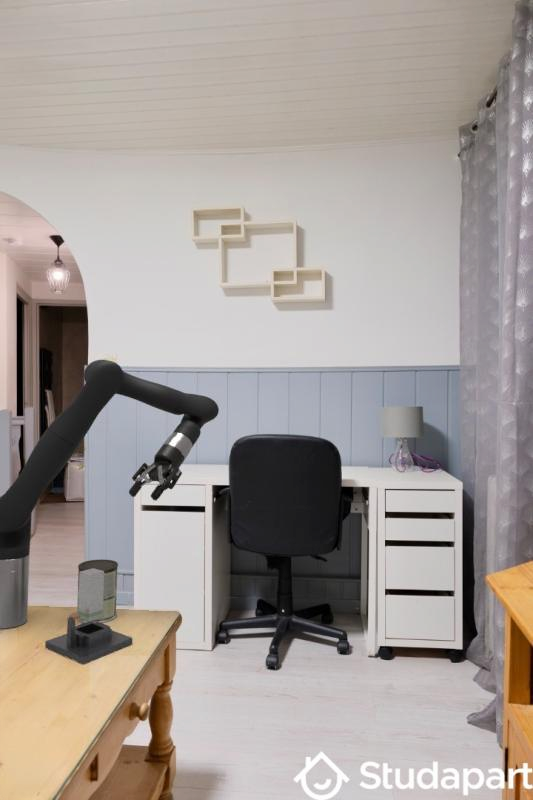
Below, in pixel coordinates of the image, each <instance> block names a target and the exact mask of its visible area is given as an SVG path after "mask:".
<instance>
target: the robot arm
mask: <svg viewBox="0 0 533 800" xmlns="http://www.w3.org/2000/svg"><path fill="white" fill-rule="evenodd" d="M83 377H84V379H83V380H84V381H85V383H84V385H83V386H82V389H81V390H80V392H79V393H78V395H77V396H76V398H74V400H73V401H72V402H71V403H70V404H69V405H68V406H67V407H66V408H65V409H64V410H63V411H62V412H61V413H59V414H58V416H56V417H55V418H54V419H53V421H52V422H51V423H50V424H49V426H48V427H47V428H46V429H45V431H44V432H43V434H42V435H41V436H40V438H39V440H38V441H37V443H36V445H35V446H34V448H33V450H32V451H31V453H30V455H29V457H28V458H27V461H26V463H25V465H24V466H23V468H22V470H21V472H20V473H19V475H18V476H17V478H16V479H15V480H14V481H13V483H12V484H11V485H10V486H9V488H8V489H7V490H6V491H5V493H4V494H3V495H1V496H0V630H1V629H11V628H16V627H19V626H22V625H23V624H25V623H27V621H28V610H29V609H28V606H29V583H30V582H29V580H30V578H29V577H30V575H29V574H30V554H31V553H30V552H31V551H30V550H31V540H32V539H31V538H32V537H31V534H32V514H33V512H34V509H35V507H36V506H37V504H38V502H39V500H40V498H41V497H42V496H43V494H44V492H45V491H46V489H47V487H48V486H49V485H50V484H51V483H52V481H53V480H54V479H55V478H56V477H57V476H58V475H59V473H60V472H61V471H62V470H63V469H64V468H65V466H66V464H67V463H68V462H69V461H70V459H71V458H72V456H73V455H74V453H76V451H77V449H78V448H79V446H80V445H81V443H82V441H83V440H84V438H85V437H86V435H87V434H88V432H89V431H90V429H91V427H92V426H93V424H94V422H95V421H96V419H97V417H98V415H100V413H101V412H102V410H103V409H104V408H105V407H106V405H108V404H109V402H110V401H111V400H112V398H114V396H115V395H119V396H124V397H127V398H130V399H132V400H135V401H138V402H140V403H143V404H145V405H148V406H150V407H153V408H155V409H157V410H160V411H164V412H167V413H168V414H172V415H176V416H181V415H183V416H182V418H181V420H180V422H179V424H178V425H177V426H176V427H175V429H174V430H173V432H172V433H171V434H170V435H169V436H168V437H167V438H166V440H165V442H163V443H162V444H161V447H160V448H159V449H158V451H157V452H156V454H155V455H154V459H153V463H151V464H150V465H148V464H147V462H143V463H142V465H141V466H140V467H138V470H137V471H136V472H135V473H134V475H132V477H131V479H132V481H133V482H134V483H133V485H132V486H131V488H130V489H129V490H128V494H129V495H130V496H131V497H132V498H135V497H136V496H137V494H138V493H139V492H140V490H141V489H142V488H143V486H145V485H146V484H151V483H152V482H157V483H158V484H157V485H156V487H155V489H154V490H152V492H151V494H150V498H151V500H153V501H158V499H160V497H161V496H162V495H163V493H164V492H165V491H168V489H169V490H173V489H174V488H175V486H176V485H177V483H178V481H179V479H180V478H181V476H182V475H183V472H182V471H181V469H180V467H181V466H182V464H183V463H184V461H185V460H186V459H187V458H188V455H189V454H190V452H191V451H192V448H193V447H194V446H195V444H196V443H197V441H198V439H199V438H200V436H201V433H202V432H201V429H202V428H203V427H204V426H205V424H207V423H209V422H211V421H213V420H215V419H216V418H217V417H218V415H219V413H220V412H219V404H218V403H217V402H216V401H215V400H214V399H212V398H211V397H208V396H205V395H202V394H201V395H200V394H196V393H188V392H182V391H181V390H178V389H175V388H173V387H170V386H167V385H164V384H160V383H157V382H153V381H150V380H147V379H143V378H141V377H137V376H136V375H135V376H134V375H132V374H130V373H127V372H126V371H124V370H123V368H122V366H120V364H118V363H117V362H114V361H112V360H108V359H97V360H94V361H91V362H90V363H88V365H87V366H86V367H85V369H84V372H83ZM147 475H148V476H147Z"/></svg>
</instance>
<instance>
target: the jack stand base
mask: <svg viewBox="0 0 533 800" xmlns="http://www.w3.org/2000/svg"><path fill="white" fill-rule="evenodd" d="M77 619H80V615H79V614H77V612H76V613H73V614H69V615H68V617H67V627H66V632H67V633H66V634H62V635H58V636H57V637H54V638H51V639H47V640H45V645H44V648H45V647H46V648H45V649H47V648H48V650H50V651H51V652H52V651H53V652H54V653H56V654H59V655H61V656H63V657H65V656H66V658H67V657H68V658H67V659H69V660H72V659H73V660H72V661H74V660H75V662H76V661H77V662H76V663H79V664H81V665H85V664H87V662H88V663H90V662H92V660H93V661H95V660H97V659H100V658H103V657H104V656H107V655H109V654H112V653H114V651H115V652H116V651H120V650H121V649H122V650H123V649H124V648H126V647H129V646H131V644H132V645H133V637H131V636H129V635H126V634H123V633H120V632H119V631H118V632H117V631H115V630H113V629H112V628H111V626H109V625H108V624H105V623H100V622H95V623H94V622H92V621H90V622H86V623H80V624H78V625H77V624H76V621H78V620H77Z"/></svg>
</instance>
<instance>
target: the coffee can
mask: <svg viewBox="0 0 533 800" xmlns="http://www.w3.org/2000/svg"><path fill="white" fill-rule="evenodd" d="M92 568H94V569H98V570H101V571H104V591H103V617H102V618H99V619H96V620H93V621H92V622H94V623H95V622H100V623H102V624H105V623H108V622H110V621H113V620H114V619H115V618H116V617H117V597H118V595H117V592H118V591H117V590H118V589H117V588H118V568H119V563H118V562H117V561H115V560H111V559H90V560H86V561H82V562H81V563H79V564H78V565H77V570H78V576H77V577H78V579H77V598H78V597H79V572H80V571H84V570H88V569H92ZM76 614H78V605H77V611H76ZM76 621H78V622H80V623H81V624H83V623H86V622H87V621H85V620H82V619H77V620H76Z"/></svg>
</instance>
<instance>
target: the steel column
mask: <svg viewBox="0 0 533 800" xmlns="http://www.w3.org/2000/svg"><path fill="white" fill-rule="evenodd" d="M78 573H79V597H78V596H77V606H78V614H79V615H80V619H82V620H85V621H87V622H90V621H93V620H96V619H99V618H102V617H103V591H104V571H101V570H98V569H94V568H92V569H88V570H84V571H80V572H78Z"/></svg>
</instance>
